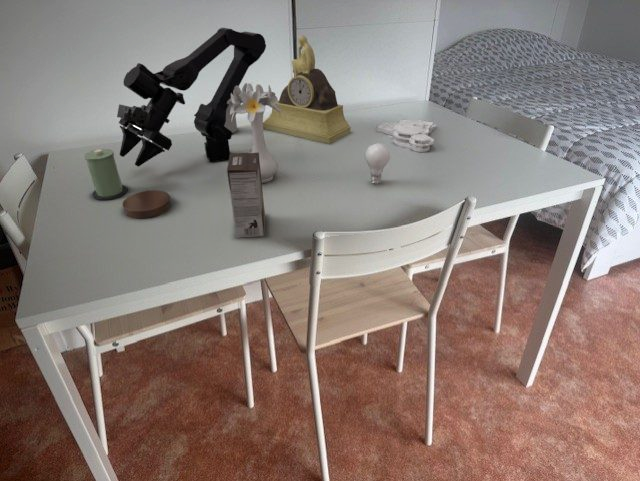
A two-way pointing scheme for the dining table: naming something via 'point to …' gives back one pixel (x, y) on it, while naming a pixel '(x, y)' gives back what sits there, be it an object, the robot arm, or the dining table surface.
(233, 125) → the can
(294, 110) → the decorative clock
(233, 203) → the coffee box
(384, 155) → the lightbulb
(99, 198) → the coaster
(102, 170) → the canister
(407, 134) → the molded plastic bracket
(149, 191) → the platform
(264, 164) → the flower vase
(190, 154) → the dining table surface
